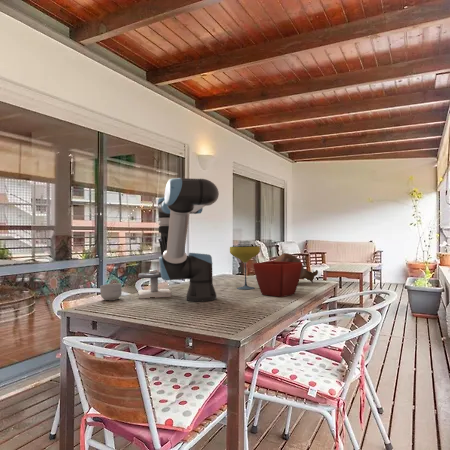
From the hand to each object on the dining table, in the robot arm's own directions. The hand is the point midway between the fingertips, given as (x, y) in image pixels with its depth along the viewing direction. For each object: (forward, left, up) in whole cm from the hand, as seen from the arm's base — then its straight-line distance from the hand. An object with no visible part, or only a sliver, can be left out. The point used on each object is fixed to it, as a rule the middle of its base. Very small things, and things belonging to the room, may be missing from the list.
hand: (166, 268), depth 212 cm
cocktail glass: (+6, -47, -15) cm, 50 cm away
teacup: (-4, +29, -15) cm, 33 cm away
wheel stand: (+1, +7, -15) cm, 16 cm away
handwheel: (+1, +7, -4) cm, 8 cm away
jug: (+15, -82, -15) cm, 85 cm away
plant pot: (-24, -56, -15) cm, 63 cm away
